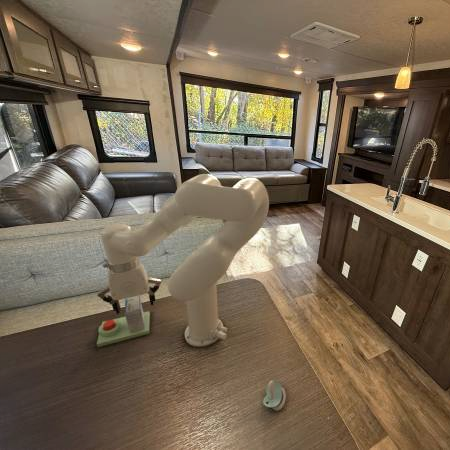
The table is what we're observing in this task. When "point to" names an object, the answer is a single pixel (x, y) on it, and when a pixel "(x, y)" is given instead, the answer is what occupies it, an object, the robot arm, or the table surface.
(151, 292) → the robot arm
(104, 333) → the green button pad
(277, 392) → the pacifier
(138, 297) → the medicine box
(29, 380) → the table surface
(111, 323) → the tare button
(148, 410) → the table surface
